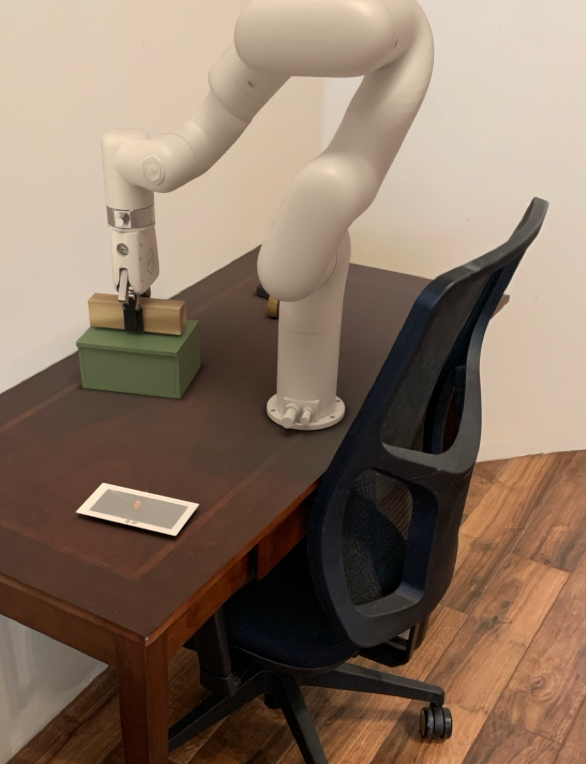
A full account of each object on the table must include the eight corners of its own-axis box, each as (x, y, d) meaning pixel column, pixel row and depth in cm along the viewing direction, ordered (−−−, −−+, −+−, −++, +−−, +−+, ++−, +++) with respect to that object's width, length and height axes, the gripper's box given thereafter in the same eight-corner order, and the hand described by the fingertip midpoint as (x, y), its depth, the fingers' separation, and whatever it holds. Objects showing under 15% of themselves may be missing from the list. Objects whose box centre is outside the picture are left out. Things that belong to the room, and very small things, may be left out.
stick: (180, 335, 149) (179, 309, 146) (90, 325, 152) (87, 300, 149) (186, 326, 151) (185, 301, 149) (97, 317, 155) (95, 292, 152)
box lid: (177, 357, 145) (177, 352, 145) (76, 346, 149) (75, 342, 149) (199, 324, 155) (199, 320, 155) (104, 316, 159) (103, 311, 159)
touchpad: (103, 489, 129) (102, 476, 128) (199, 510, 124) (199, 497, 123) (76, 518, 123) (74, 505, 122) (176, 542, 118) (175, 529, 117)
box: (180, 398, 150) (178, 355, 146) (82, 387, 154) (77, 345, 150) (200, 366, 160) (199, 325, 156) (108, 356, 164) (104, 316, 159)
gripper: (136, 234, 133) (143, 348, 144) (169, 201, 146) (174, 309, 157) (89, 230, 135) (100, 343, 146) (126, 198, 148) (133, 305, 159)
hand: (138, 324), depth 152 cm, fingers closed on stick, 3 cm apart
